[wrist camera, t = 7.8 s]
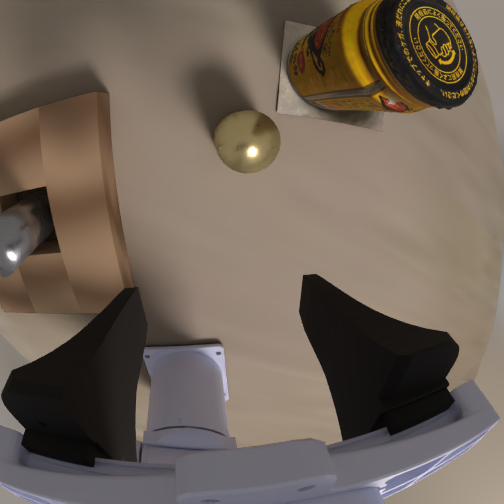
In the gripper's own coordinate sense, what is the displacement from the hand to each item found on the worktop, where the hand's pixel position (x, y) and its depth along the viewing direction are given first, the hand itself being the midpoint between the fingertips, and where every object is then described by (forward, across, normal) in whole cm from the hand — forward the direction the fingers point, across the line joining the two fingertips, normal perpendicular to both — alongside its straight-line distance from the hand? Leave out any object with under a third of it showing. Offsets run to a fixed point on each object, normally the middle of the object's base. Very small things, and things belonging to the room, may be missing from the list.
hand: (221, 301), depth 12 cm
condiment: (+10, -9, -11) cm, 17 cm away
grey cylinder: (+10, +14, -2) cm, 17 cm away
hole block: (+10, +14, -2) cm, 17 cm away
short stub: (+10, -2, -6) cm, 12 cm away
